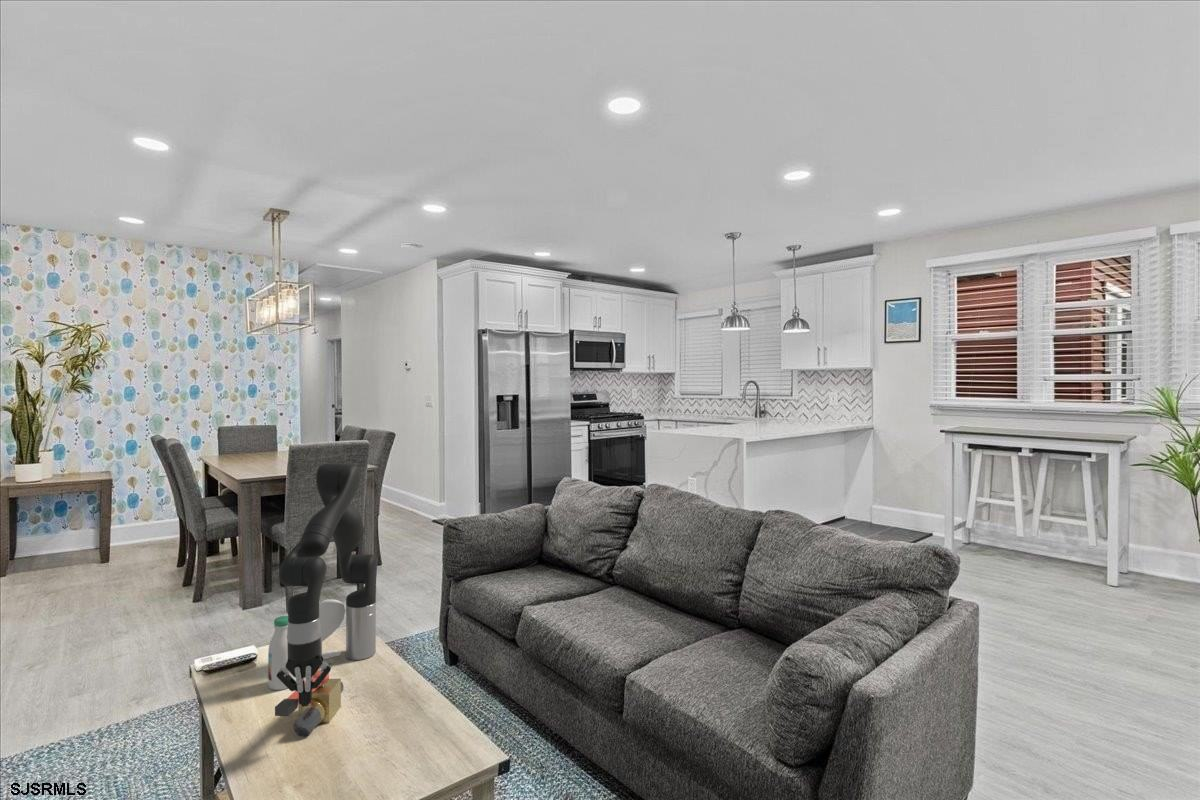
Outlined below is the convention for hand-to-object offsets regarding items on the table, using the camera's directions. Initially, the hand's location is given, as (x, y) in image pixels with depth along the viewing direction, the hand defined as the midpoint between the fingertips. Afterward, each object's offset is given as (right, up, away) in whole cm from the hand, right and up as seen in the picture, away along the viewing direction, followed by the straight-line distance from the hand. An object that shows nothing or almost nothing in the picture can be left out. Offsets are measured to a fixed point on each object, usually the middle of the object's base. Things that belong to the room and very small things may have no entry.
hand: (305, 704), depth 152 cm
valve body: (-2, -9, +13) cm, 16 cm away
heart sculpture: (-19, -9, +48) cm, 52 cm away
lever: (-3, 0, +5) cm, 6 cm away
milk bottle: (-21, -9, +30) cm, 37 cm away
